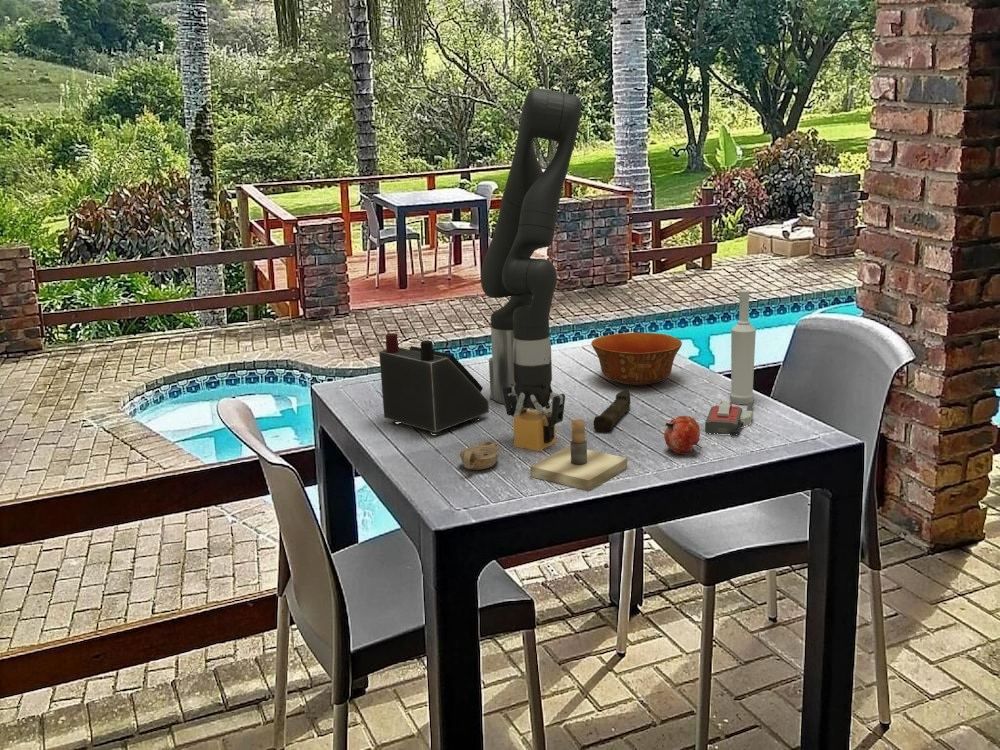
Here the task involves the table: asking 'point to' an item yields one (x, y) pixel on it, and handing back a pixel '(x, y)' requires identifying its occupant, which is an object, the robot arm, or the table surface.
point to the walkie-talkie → (728, 418)
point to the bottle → (742, 354)
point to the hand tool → (613, 412)
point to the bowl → (636, 356)
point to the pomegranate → (682, 434)
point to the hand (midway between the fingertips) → (535, 439)
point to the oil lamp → (480, 456)
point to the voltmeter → (427, 387)
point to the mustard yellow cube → (530, 431)
